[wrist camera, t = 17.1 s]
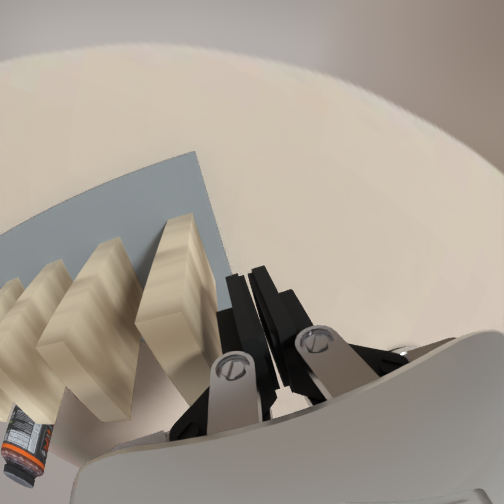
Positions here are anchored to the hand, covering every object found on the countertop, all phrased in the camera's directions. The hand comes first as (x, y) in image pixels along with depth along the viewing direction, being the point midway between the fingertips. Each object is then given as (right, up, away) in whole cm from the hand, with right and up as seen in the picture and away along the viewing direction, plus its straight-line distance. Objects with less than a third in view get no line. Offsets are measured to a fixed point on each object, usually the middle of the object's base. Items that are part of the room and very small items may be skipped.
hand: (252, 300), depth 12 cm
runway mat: (-14, 0, +7) cm, 15 cm away
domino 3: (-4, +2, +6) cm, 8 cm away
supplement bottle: (-28, -19, +12) cm, 36 cm away
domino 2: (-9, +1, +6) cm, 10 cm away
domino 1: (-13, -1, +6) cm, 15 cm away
